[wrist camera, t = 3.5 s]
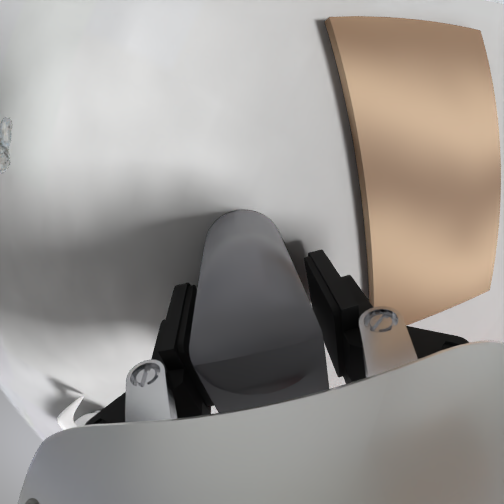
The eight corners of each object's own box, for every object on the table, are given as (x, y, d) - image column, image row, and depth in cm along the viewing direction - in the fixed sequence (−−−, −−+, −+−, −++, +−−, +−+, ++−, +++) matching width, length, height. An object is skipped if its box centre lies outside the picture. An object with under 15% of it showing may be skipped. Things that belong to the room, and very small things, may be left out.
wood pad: (324, 21, 9) (329, 17, 8) (472, 32, 8) (480, 30, 8) (369, 329, 14) (374, 336, 14) (483, 285, 14) (489, 290, 14)
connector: (195, 221, 11) (168, 314, 6) (272, 201, 11) (314, 280, 6) (250, 380, 15) (261, 481, 10) (306, 367, 15) (335, 465, 10)
